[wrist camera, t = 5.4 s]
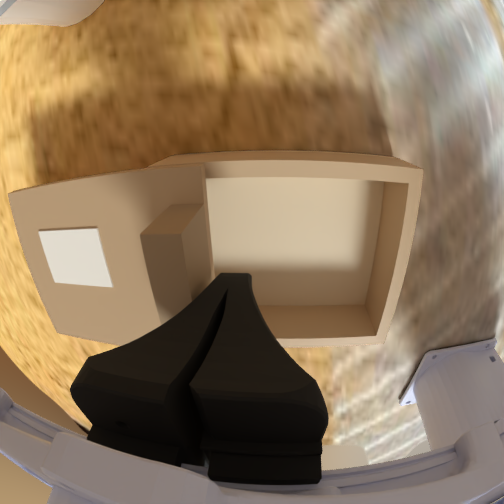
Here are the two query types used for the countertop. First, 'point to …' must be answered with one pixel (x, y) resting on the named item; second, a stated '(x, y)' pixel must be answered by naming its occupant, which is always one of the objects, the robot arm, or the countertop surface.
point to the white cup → (46, 11)
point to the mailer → (313, 237)
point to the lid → (117, 248)
